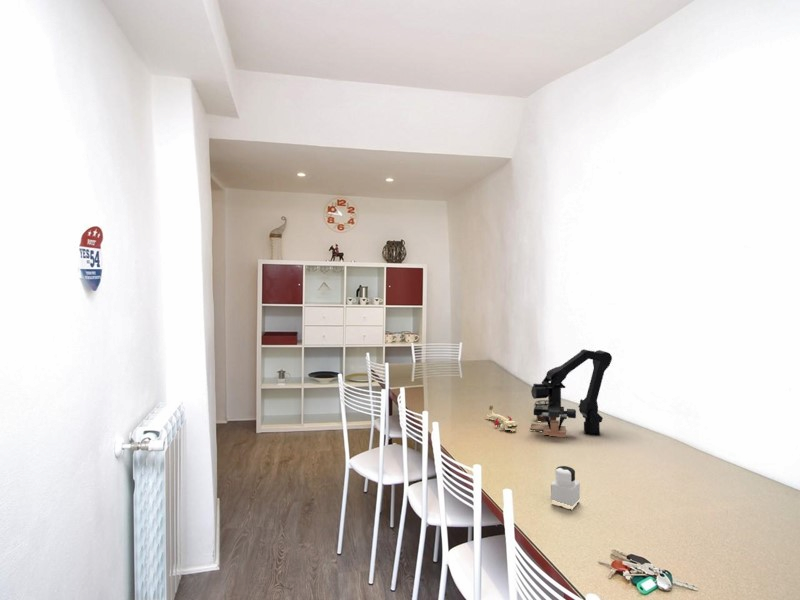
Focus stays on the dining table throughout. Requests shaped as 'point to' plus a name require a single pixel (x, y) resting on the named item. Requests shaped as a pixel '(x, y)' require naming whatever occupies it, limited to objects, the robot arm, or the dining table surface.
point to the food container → (545, 406)
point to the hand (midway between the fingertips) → (554, 430)
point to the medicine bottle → (565, 486)
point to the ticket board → (543, 427)
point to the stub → (555, 430)
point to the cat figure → (502, 420)
